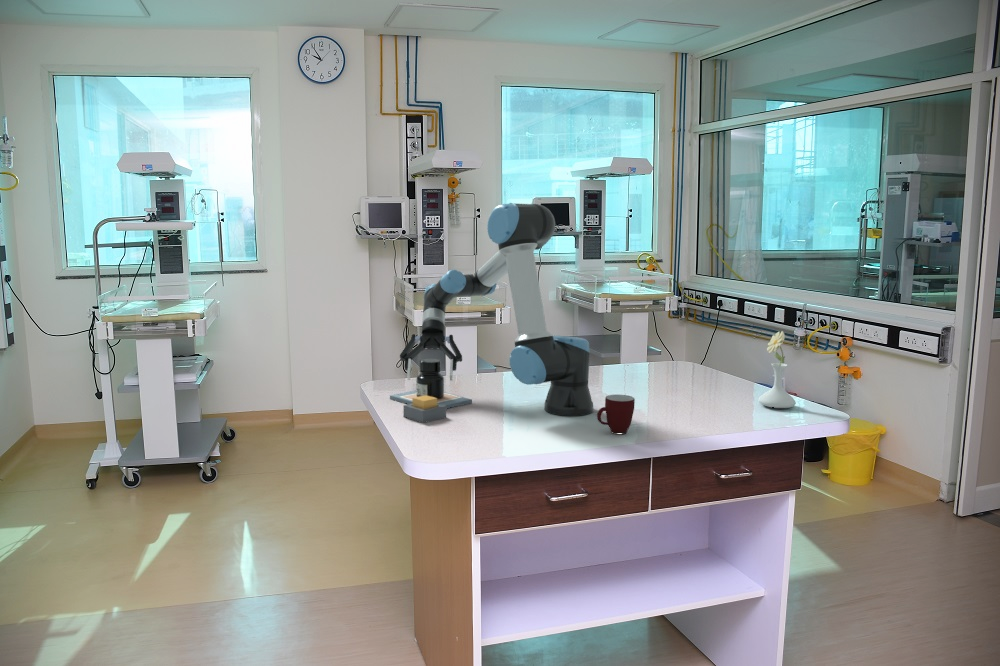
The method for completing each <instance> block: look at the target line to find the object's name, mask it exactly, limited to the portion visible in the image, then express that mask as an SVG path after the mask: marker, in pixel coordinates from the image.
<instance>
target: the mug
mask: <svg viewBox="0 0 1000 666" xmlns="http://www.w3.org/2000/svg"><path fill="white" fill-rule="evenodd" d="M604 398H605V402H604V407H601V408H600V409H599V410H598V411H597V414H596V415H597V416H596V419H597V421H598V422H599V423H600V424H601V425H603V426H608V428H609V430H610V432H611V433H612V432H613V433H612V434H614V433H625V434H626V433H627V432H628V430H629V428H630V427H631V424H632V419H633V415H634V411H635V399H636V398H635V397H633V396H632V395H627V394H609V395H606V396H605V397H604ZM604 412H605V417H606V422H605V421H602V417H601V416H602V414H603V413H604Z"/></svg>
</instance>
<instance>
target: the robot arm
mask: <svg viewBox="0 0 1000 666" xmlns="http://www.w3.org/2000/svg"><path fill="white" fill-rule="evenodd" d="M486 226H487V228H486V229H487V236H488V237H489V239H490V240H491V242H493V243H495V244H496V245H497V246H498V251H497V252H495V254H494V255H492V257H490V259H489V258H488V260H487V261H486V262H485V263H484V264H483V265H482V266H481V267H480V268H479V269H478V270H476V271H475V272H474V273H472V274H471V273H470V274H464V273H463V272H461V271H459V270H457V269H450V270H448V271H446V273H445V274H443V275H442V277H441V278H440V280H438V281H437V283H432V284H430V285H428V286H426V287H425V290H424V295H423V311H422V312H423V313H422V325H421V335H419V336H418V335H416V334H415V333H413V334H412V335H411V337H410V340H409V342H407V344H406V345H405V347H404V349H403V350H402V351H401V353H400V354H399V359H400V361H401V362H404V370H405V371H406V377H407V381H410V380H411V376H412V375H411V373H412V360H414V359H415V358H416V357H417V356H418V355H419V354H420V353H421V352H423V351H424V350H437V349H439V350H440V351H441V352H442V353H443V354H445V355H446V357H448V358H449V360H450V362H449V363H450V364H449V381H453V374H454V372H456V370H457V363H459V362H460V363H461V362H462V361H463V355H462V353H461V351H460V350H459V348H458V346H457V344H456V342H455V341H454V335H453V334H449V335H448V336H445V325H446V307H447V305H449V304H450V303H451V302H452V301H453V300H454V299H455V298H463V297H464V298H466V297H477V296H480V297H481V296H482V297H484V296H485V297H486V296H487V295H492V294H493V293H495V291H496V288H497V283H498V282H499V281H500V280H501V279H503V278H504V276H506V275H507V274H508V280H509V286H510V292H511V298H512V304H513V310H514V316H515V322H516V328H517V337H516V338H515V340H514V346H515V347H514V348H513V349H512V350H511V352H510V355H509V361H508V363H509V366H510V370H511V372H512V375H513V376H514V377H515V378H516V379H517V380H518V381H519V382H520V383H522V384H524V385H528V386H529V385H541V384H543V383H549V382H550V386H549V388H548V392H547V395H546V398H545V400H544V411H545V412H547V413H549V414H552V415H556V416H557V415H558V416H567V417H571V416H572V417H577V416H578V417H580V416H586V415H589V414H592V413H593V412H594V402H593V400H592V396H591V395H592V394H591V391H590V388H589V373H590V369H589V368H590V354H591V352H590V343H589V341H588V340H587V339H585V338H582V337H577V336H568V335H553V334H552V333H551V332H549V331H548V329H547V323H546V318H545V313H544V312H545V311H544V306H543V299H542V295H541V294H542V293H541V287H540V283H539V277H538V271H537V270H538V269H537V263H536V258H535V250H536V251H538V250H541V249H542V248H543V247H544V246H545V245H546V244H548V242H550V240H551V238H552V237H553V236H554V233H555V230H556V220H555V216H554V214H553V213H552V212H551V210H550V209H549V208H548V207H546V206H544V205H542V204H538V203H514V202H510V203H503V204H498V205H497V206H495V207H494V208H493V209H492V211H491V213H490V215H489V216H488V219H487V225H486ZM419 341H420V342H419ZM445 342H447V343H448V344H450V345H449V346H450V348H451V349H449V348H448V347H447V345H446V344H445ZM417 343H418V345H417V346H415V344H417ZM414 346H415V347H414ZM451 350H452V351H453V352H452V351H451Z"/></svg>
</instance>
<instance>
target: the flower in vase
mask: <svg viewBox="0 0 1000 666" xmlns="http://www.w3.org/2000/svg"><path fill="white" fill-rule="evenodd" d="M785 339H786V335H785V332H784V330H781V332H780V331H778V332H776V333H775V335H772V336H771V339H770V341H769V342H768V343H767V346H768V347H767V348H766V352H768V354H772V353H775V354H774V356H775V358H776V359H777V360H778V361H780V362H773V363H772V362H771V363H770V364H771V367H772V368H773V372H774V382H773V386H772V388H770V389H769V390H767V391H766V392H763V394H762V395H760V396H759V397H758V400H757V401H758V403H759V404H761V405H762V406H765V407H768V408H772V407H774V409H789V408H790V409H791V408H793V407H795V406H796V400H795V398H794V397H793V396H792V395H790V393H788V392H787V390H785V389H784V387H783V375H784V372H785V370H786V369H787V367H788V364H787V363H785V358H786V356H785V355H784V351H783V349H782V345H783V343H784V340H785ZM779 349H780V352H781V355H780V354H779V353H778V352H777V350H779Z"/></svg>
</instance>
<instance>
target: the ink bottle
mask: <svg viewBox="0 0 1000 666" xmlns="http://www.w3.org/2000/svg"><path fill="white" fill-rule="evenodd" d="M441 368H442V361H441V359H438V358H424V359H420V360H419V372H420V373H419V374H418V375H417V376H416V393H417V397H420V396H425V395H427V396H431V397H435V398H437V399H440V398H442V397H443V396H444V392H445V383H444V382H445V377H444V376H443V375H442V373H441V370H442V369H441Z"/></svg>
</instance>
